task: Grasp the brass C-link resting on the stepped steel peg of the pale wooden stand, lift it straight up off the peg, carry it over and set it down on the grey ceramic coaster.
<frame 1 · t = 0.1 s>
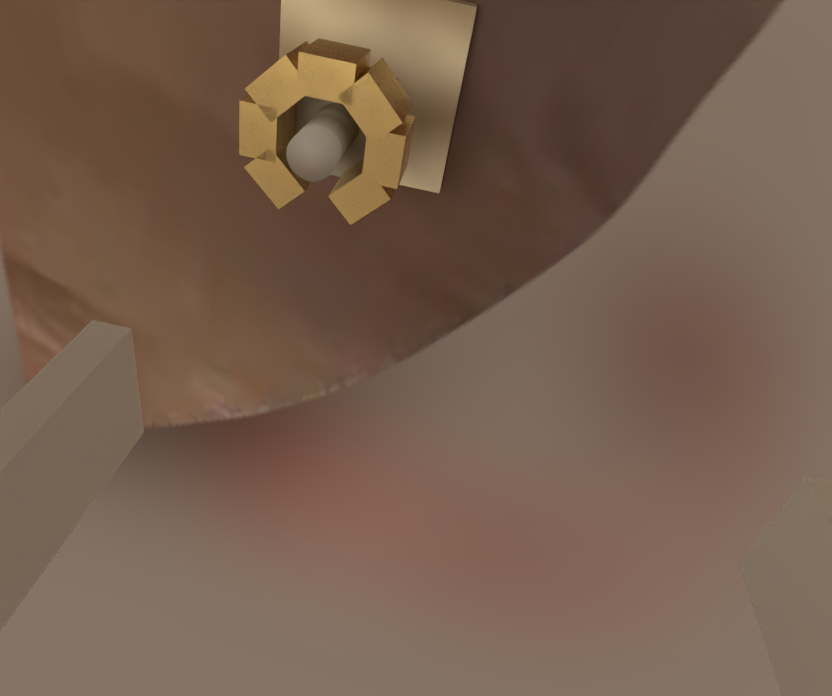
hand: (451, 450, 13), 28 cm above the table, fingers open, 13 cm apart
c link: (337, 125, 29), point 8 cm above the table, touching peg stand
peg stand: (370, 84, 36), on the table
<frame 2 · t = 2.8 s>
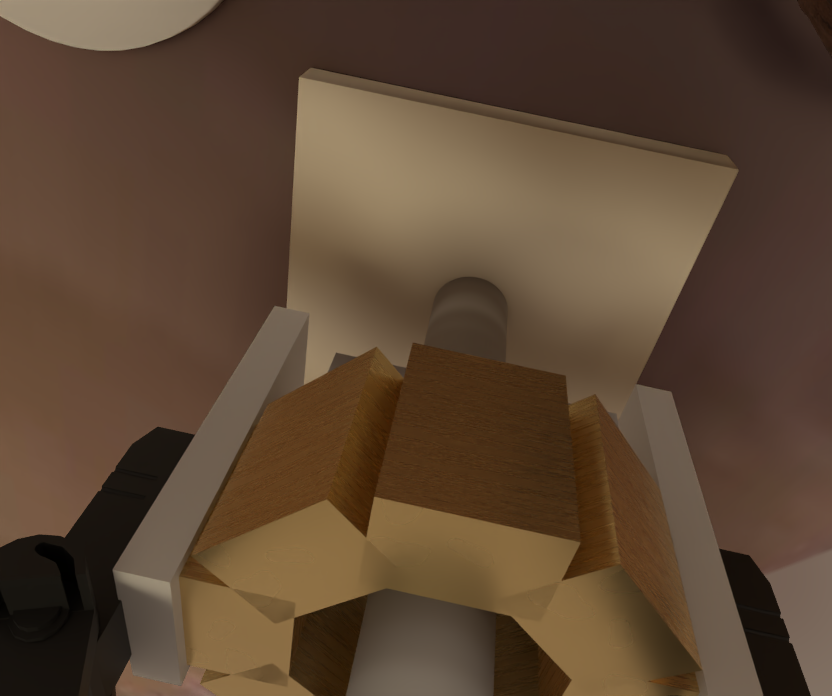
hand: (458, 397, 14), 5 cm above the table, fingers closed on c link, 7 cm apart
c link: (444, 512, 11), point 8 cm above the table, touching gripper, peg stand
peg stand: (472, 291, 18), on the table
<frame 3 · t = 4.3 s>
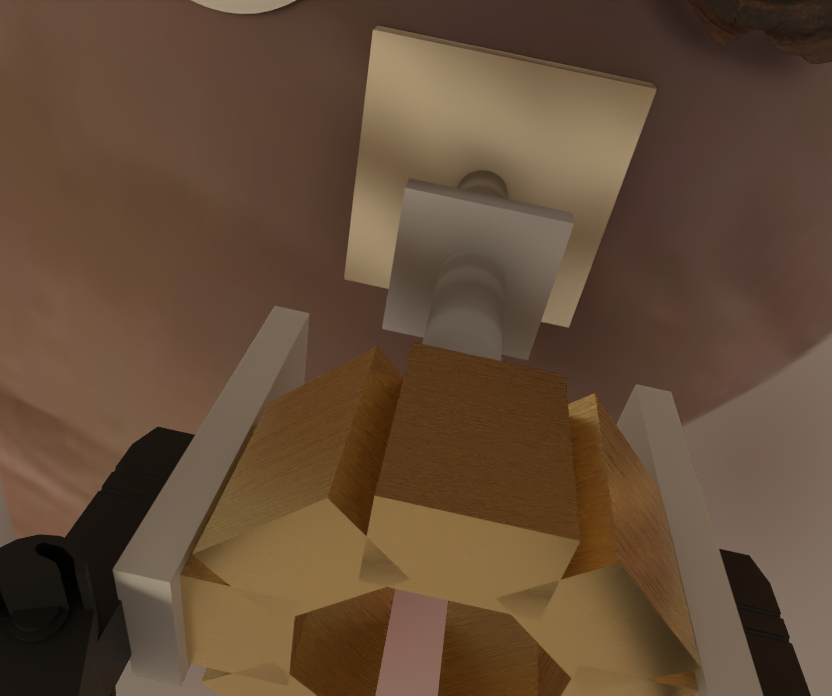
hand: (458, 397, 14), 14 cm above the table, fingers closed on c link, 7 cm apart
c link: (444, 511, 11), point 17 cm above the table, touching gripper
peg stand: (483, 186, 26), on the table
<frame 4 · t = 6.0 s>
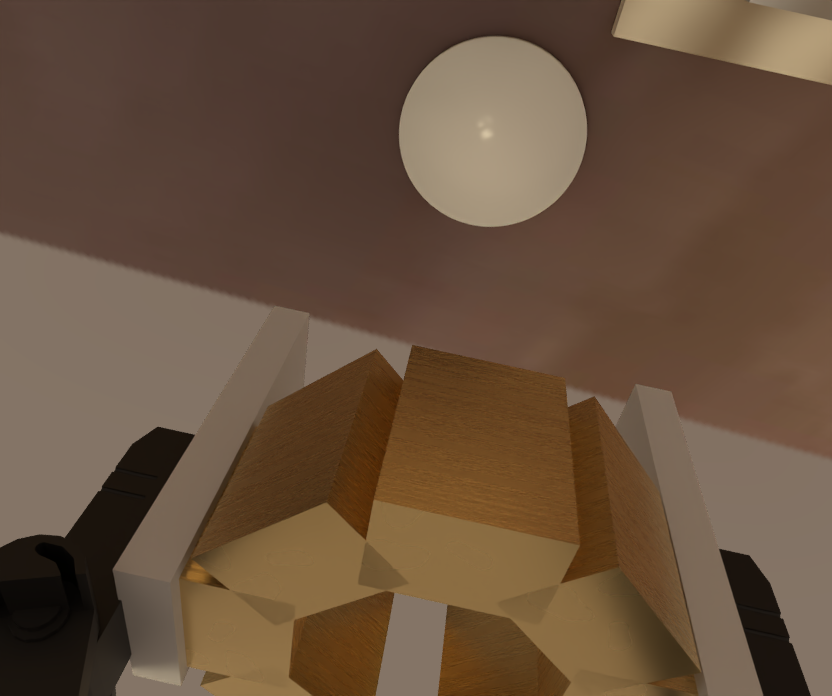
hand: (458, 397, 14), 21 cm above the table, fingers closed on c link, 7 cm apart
c link: (443, 514, 11), point 24 cm above the table, touching gripper
coaster: (491, 136, 31), on the table
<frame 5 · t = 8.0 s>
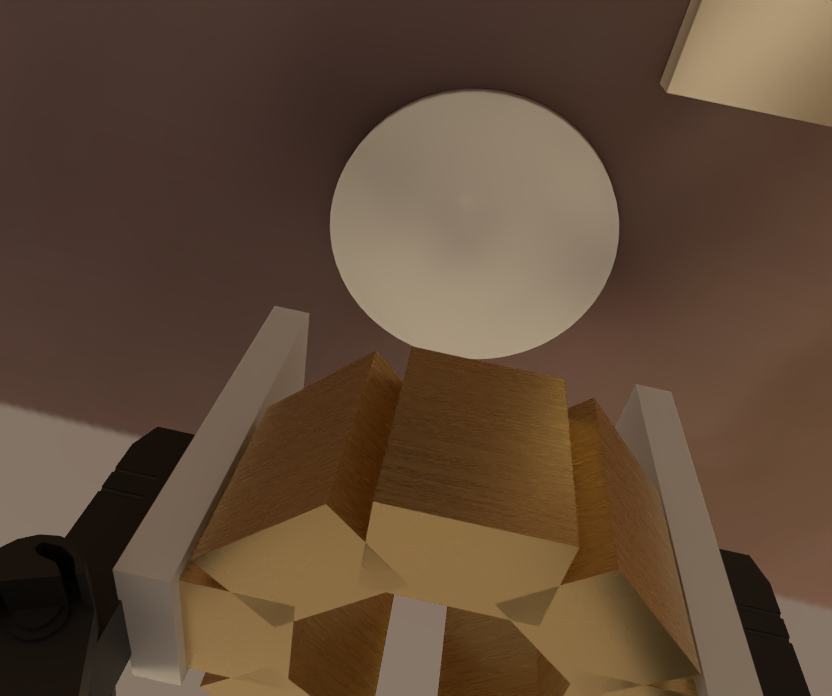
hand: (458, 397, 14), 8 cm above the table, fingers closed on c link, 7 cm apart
c link: (443, 515, 11), point 11 cm above the table, touching gripper
coaster: (471, 235, 20), on the table
when the fingers open (1 cm above the table, at t = 9.6 s): c link drops 4 cm, resting on coaster.
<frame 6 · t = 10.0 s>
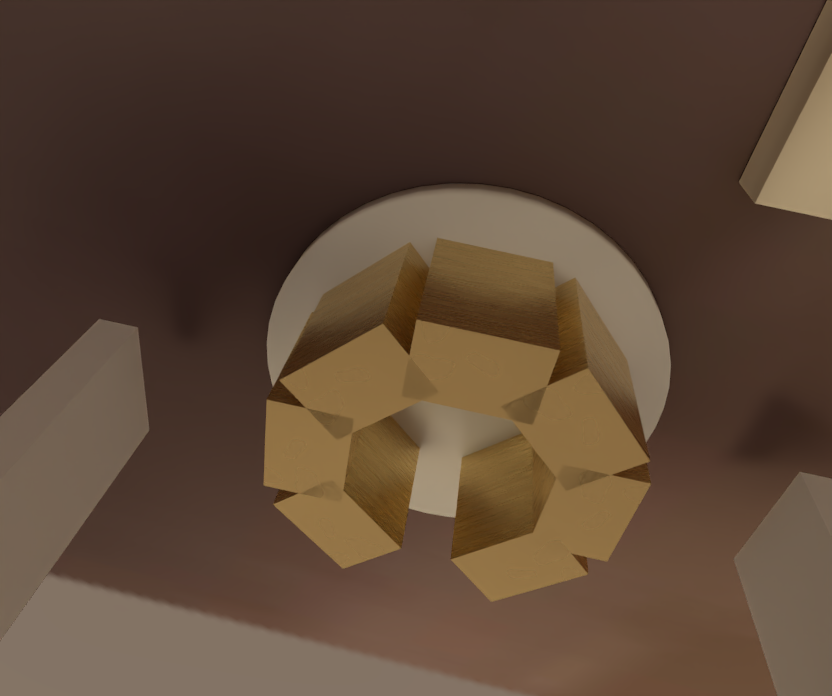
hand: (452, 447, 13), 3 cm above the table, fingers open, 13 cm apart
c link: (458, 386, 14), point 1 cm above the table, touching coaster
coaster: (462, 369, 15), on the table
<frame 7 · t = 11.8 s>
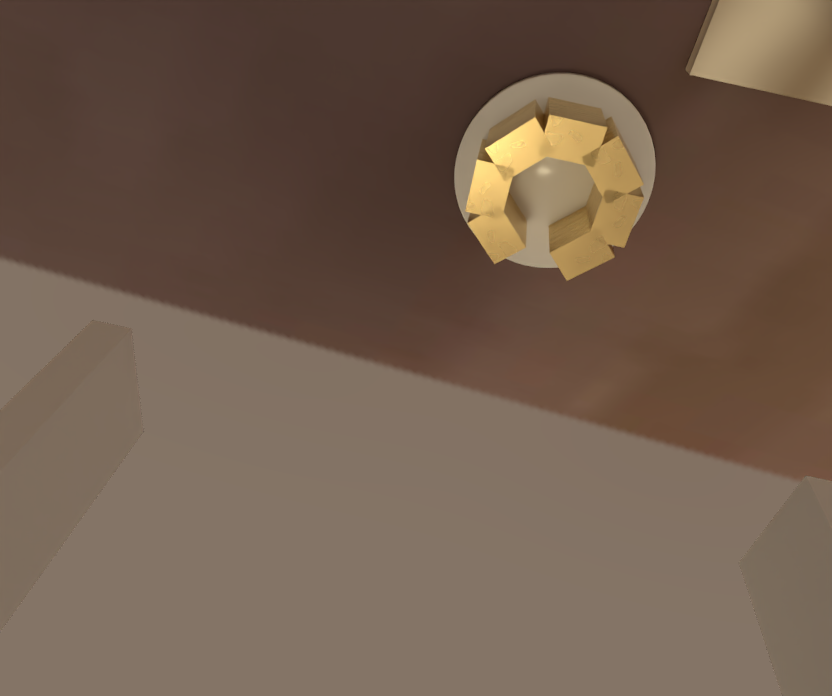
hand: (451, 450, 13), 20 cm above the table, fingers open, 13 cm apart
c link: (550, 180, 29), point 1 cm above the table, touching coaster
coaster: (551, 175, 30), on the table
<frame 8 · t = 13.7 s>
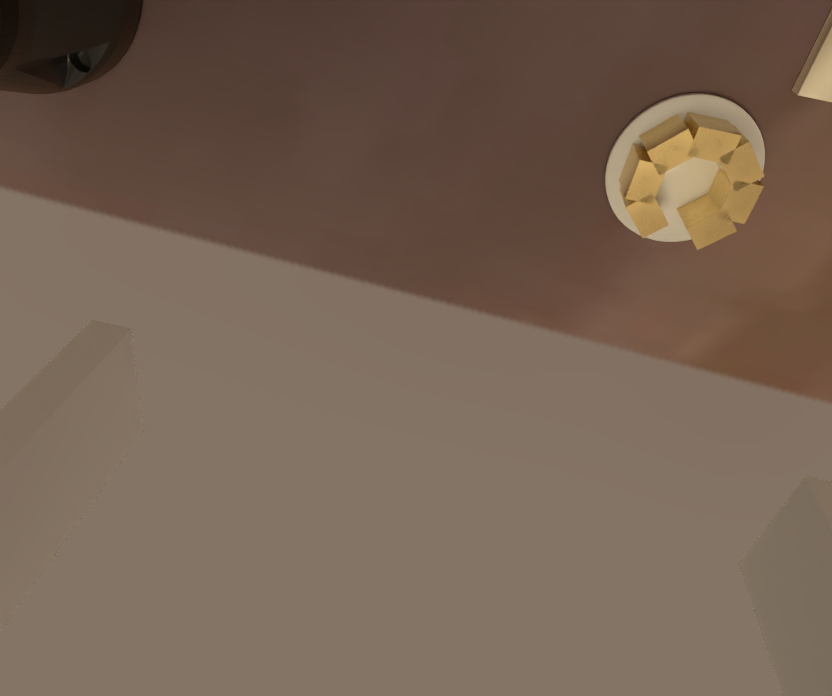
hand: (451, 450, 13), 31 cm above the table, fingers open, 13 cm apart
c link: (682, 174, 38), point 1 cm above the table, touching coaster
coaster: (681, 170, 39), on the table
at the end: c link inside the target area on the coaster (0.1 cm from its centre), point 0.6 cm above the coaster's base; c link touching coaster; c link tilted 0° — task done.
